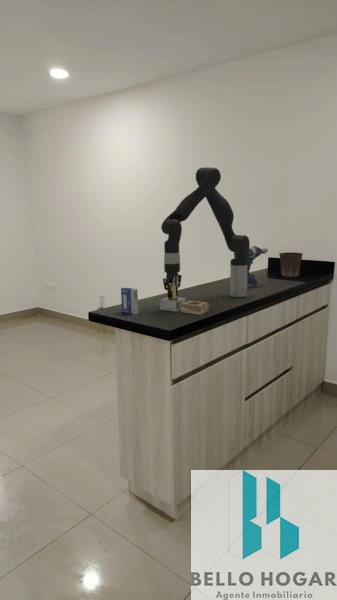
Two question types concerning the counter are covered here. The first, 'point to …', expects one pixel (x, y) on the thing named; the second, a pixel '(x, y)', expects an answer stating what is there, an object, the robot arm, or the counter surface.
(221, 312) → the counter surface
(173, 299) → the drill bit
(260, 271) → the counter surface
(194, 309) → the rack block
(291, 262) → the plant pot
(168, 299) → the socket block
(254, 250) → the impact wrench
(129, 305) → the walkman
